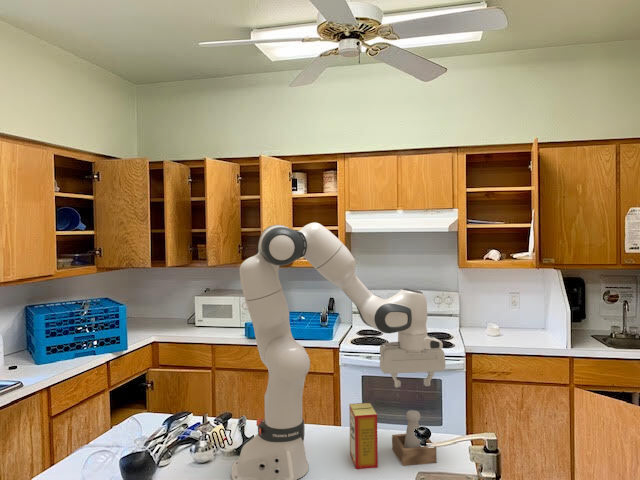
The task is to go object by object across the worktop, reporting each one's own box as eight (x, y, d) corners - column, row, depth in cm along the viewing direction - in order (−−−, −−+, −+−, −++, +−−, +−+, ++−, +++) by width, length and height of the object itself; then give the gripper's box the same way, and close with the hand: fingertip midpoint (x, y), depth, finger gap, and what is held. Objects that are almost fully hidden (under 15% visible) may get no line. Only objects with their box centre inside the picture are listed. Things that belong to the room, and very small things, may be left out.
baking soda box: (377, 467, 131) (377, 413, 131) (355, 469, 130) (355, 414, 130) (370, 451, 140) (369, 401, 140) (350, 453, 139) (349, 402, 139)
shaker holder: (403, 465, 131) (402, 450, 131) (392, 449, 142) (392, 434, 142) (436, 462, 133) (436, 447, 133) (423, 446, 143) (423, 432, 143)
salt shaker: (422, 459, 134) (421, 416, 134) (403, 456, 136) (402, 414, 135) (424, 450, 139) (423, 409, 139) (405, 448, 141) (405, 407, 141)
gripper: (382, 344, 132) (382, 391, 132) (447, 342, 135) (447, 388, 135) (377, 340, 139) (376, 384, 139) (439, 338, 142) (439, 381, 142)
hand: (412, 386), depth 137 cm, fingers open, 8 cm apart
